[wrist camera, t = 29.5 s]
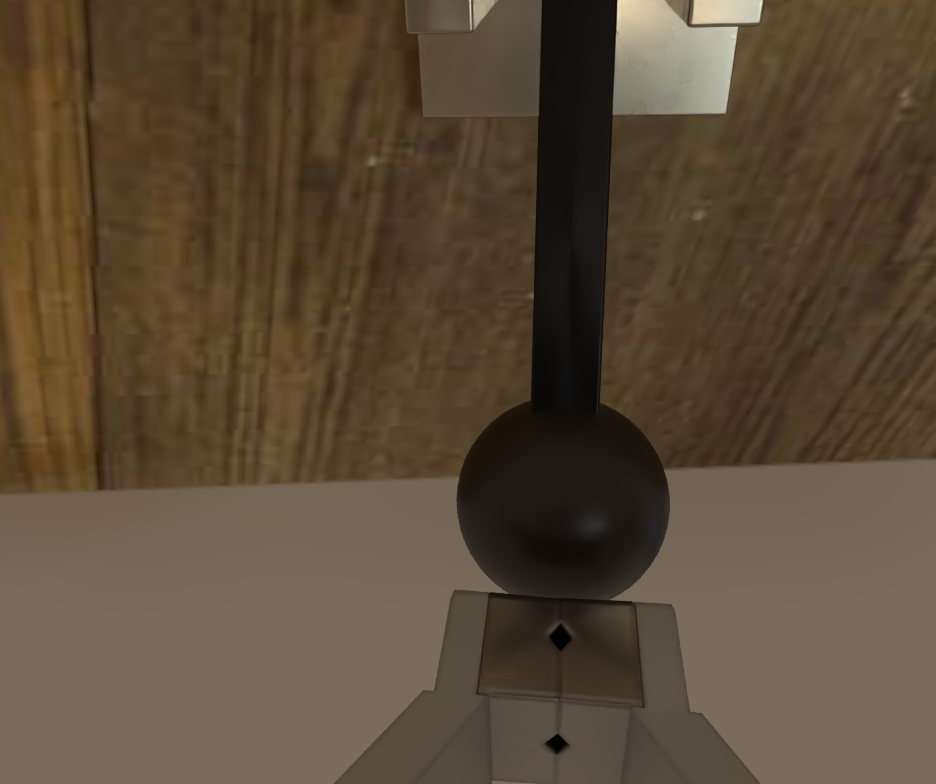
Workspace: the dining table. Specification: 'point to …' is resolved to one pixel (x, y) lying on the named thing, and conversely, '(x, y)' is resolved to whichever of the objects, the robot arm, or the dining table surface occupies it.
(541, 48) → the lever
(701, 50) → the bracket
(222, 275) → the dining table surface
